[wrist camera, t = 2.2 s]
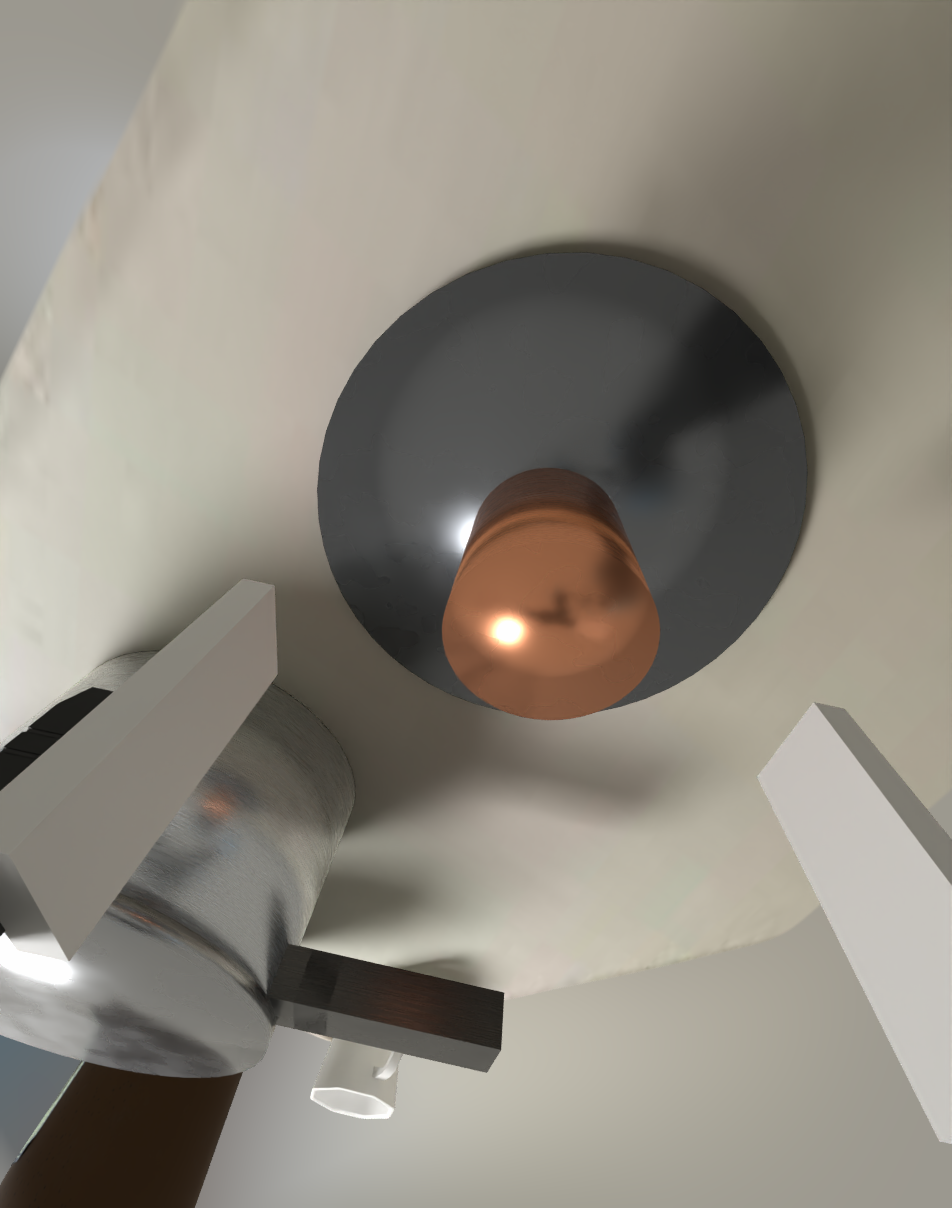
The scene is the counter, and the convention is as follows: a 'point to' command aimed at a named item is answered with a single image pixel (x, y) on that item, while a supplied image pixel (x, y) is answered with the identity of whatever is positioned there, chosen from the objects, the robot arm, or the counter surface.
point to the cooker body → (235, 928)
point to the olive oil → (121, 1142)
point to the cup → (357, 1080)
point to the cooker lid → (562, 484)
